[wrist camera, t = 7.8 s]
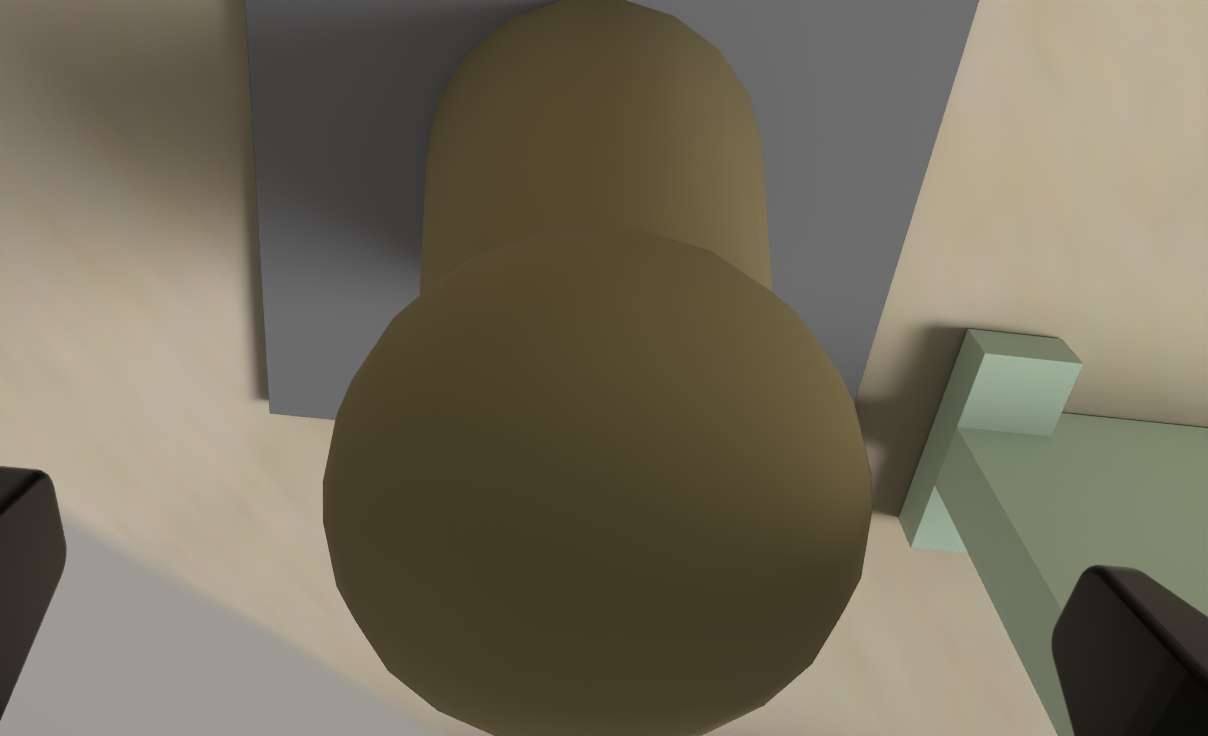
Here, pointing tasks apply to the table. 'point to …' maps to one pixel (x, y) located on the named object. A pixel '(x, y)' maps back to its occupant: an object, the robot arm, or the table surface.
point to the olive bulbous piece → (596, 404)
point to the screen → (1053, 493)
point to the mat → (405, 117)
